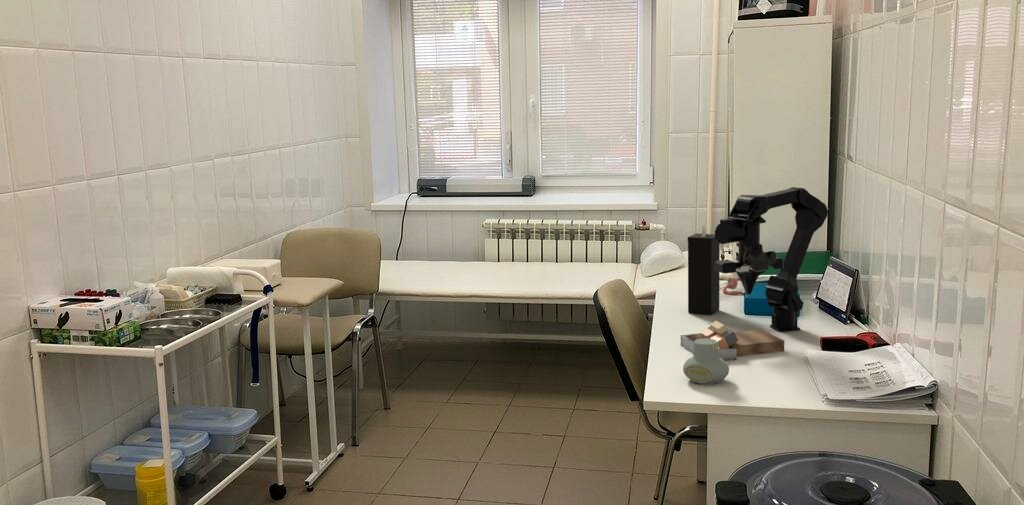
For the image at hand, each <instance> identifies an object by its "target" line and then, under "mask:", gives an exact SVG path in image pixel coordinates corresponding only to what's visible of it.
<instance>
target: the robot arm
mask: <svg viewBox="0 0 1024 505" xmlns="http://www.w3.org/2000/svg"><path fill="white" fill-rule="evenodd" d="M786 205H791V208H792V210H794V211H795V216H794V220H795V226H796V229H795V231H794V234H793V236H792V239H791V241H790V244H789V247H788V249H787V252H786V254H785V257H784V259H783V258H782V257H779V256H777V253H776V252H775V251H774V250H771V251H764V250H763V244H762V243H760V242H761V241H760V240H761V239H760V238H761V224H765V223H767V222H766V221H767V220H766V219H764V217H763V215H765V214H766V213H768V211H769V210H771V209H776V208H779V207H782V206H783V207H784V206H786ZM828 215H829V210H828V208H827V205H826V203H825V202H823V201H821V200H820V198H817V197H815V196H814V195H813V194H811V193H810V192H808V190H807V189H806V188H803V187H795V186H791V187H789V188H785V189H782V190H778V191H774V192H769V193H765V194H758V195H757V194H741V195H739V196H737V198H736V200H735V203H734V204H733V206H732V209H731V210H730V212H729V213H728V216H727V219H726V218H720V219H719V224H717V226H716V227H715V230H714V234H715V238H716V240H717V241H718V242H719V243H720V244H721V245H726V244H732V243H735V244H736V247H737V248H738V256H736V258H735V260H736V261H733V260H730V259H722V260H721V259H720V260H717V261H716V263H715V264H714V270H716V271H718V272H719V273H721V274H734V273H736V275H737V276H738V278H740V280H741V281H740V280H739V281H740V282H741V284H742V286H743V290H745V291H746V293H745V294H746V295H752V293H753V292H752V290H753V287H754V285H755V282H757V280H758V277H760V276H761V274H764V273H765V272H766V271H768V270H770V267H771V268H772V269H773V270H779V269H780V270H779V272H778V273H777V274H776V275H770V276H769V278H768V282H767V284H766V286H765V294H764V295H765V297H766V300H767V303H768V306H769V307H772V313H771V324H769V327H770V328H772V329H775V330H776V331H779V332H780V333H781V332H790V331H800V330H801V327H800V326H798V319H799V318H798V312H799V311H800V310H801V311H802V310H803V307H804V301H803V299H801V298H800V297H799V296H798V291H799V286H798V280H797V278H798V275H799V272H800V270H801V267H802V264H803V261H804V260H805V258H806V257H805V256H806V254H807V252H808V250H809V246H810V243H811V241H812V238H813V236H814V233H815V232H816V231H817V230H819V229H820V228H821V227H822V226H823V225H824V222H826V219H827V217H828Z"/></svg>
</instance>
